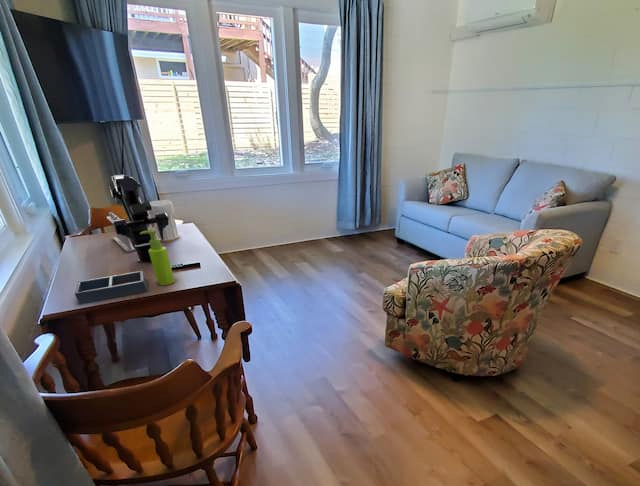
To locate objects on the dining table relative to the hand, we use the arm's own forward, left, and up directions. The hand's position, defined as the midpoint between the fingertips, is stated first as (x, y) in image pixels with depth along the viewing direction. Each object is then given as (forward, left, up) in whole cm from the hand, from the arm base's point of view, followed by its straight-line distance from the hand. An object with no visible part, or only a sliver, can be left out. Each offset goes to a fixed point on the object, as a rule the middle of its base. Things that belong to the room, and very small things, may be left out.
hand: (150, 242), depth 151 cm
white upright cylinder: (-21, +43, -14) cm, 50 cm away
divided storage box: (-9, -16, -14) cm, 23 cm away
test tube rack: (-38, +33, -14) cm, 52 cm away
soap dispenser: (+6, -6, -14) cm, 16 cm away
